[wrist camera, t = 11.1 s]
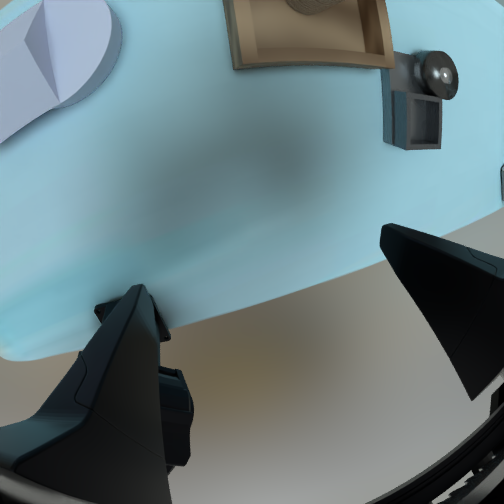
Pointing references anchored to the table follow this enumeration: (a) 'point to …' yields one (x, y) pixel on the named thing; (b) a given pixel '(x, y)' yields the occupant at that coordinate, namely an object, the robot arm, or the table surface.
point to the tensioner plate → (417, 98)
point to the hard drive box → (503, 182)
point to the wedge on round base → (54, 58)
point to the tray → (309, 35)
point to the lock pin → (311, 5)
